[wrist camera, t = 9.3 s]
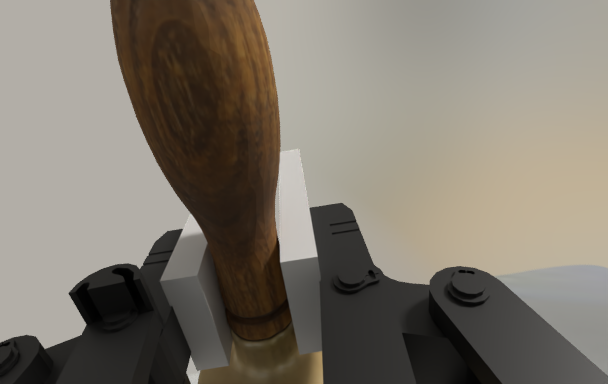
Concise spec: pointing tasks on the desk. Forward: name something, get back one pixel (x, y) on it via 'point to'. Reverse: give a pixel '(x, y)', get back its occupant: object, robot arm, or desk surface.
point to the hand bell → (219, 162)
